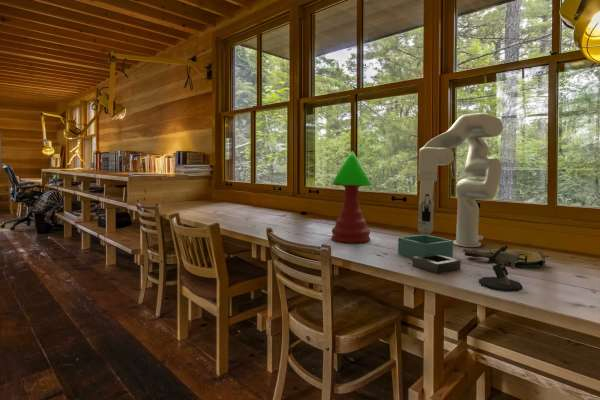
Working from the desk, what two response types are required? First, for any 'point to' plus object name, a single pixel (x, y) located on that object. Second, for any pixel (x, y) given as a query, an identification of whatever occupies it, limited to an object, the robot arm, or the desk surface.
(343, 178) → the table lamp
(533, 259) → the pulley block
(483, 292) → the desk surface
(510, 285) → the gun turret
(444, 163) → the robot arm
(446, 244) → the teal bin
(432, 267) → the steel collar
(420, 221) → the energy drink can
